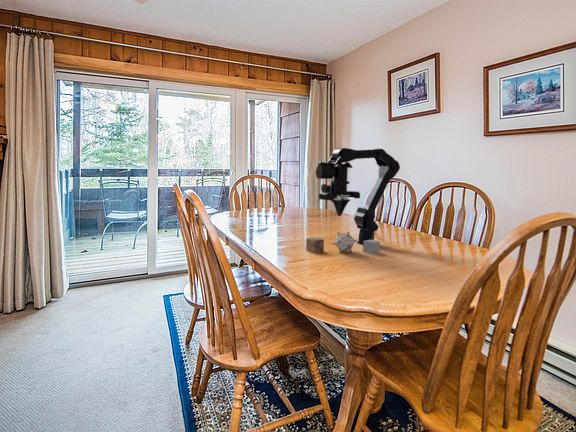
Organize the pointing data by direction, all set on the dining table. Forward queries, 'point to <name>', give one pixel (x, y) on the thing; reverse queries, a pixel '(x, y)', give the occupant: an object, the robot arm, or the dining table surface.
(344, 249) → the game die
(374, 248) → the slate block
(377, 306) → the dining table surface
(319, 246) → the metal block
